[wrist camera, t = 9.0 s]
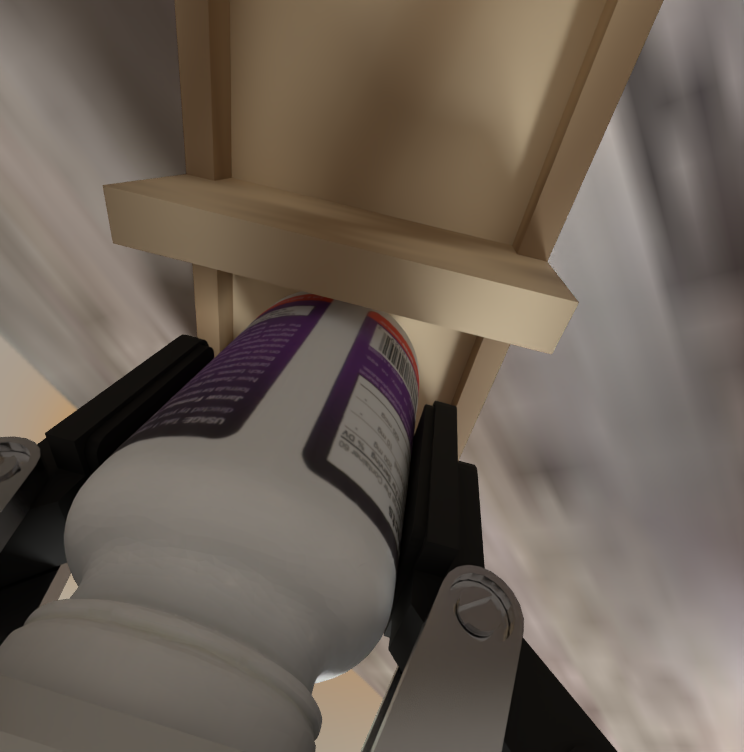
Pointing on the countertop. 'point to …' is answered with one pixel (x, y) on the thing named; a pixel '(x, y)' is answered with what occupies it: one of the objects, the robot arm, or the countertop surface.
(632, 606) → the countertop surface
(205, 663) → the pill bottle
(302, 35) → the rack
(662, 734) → the countertop surface
